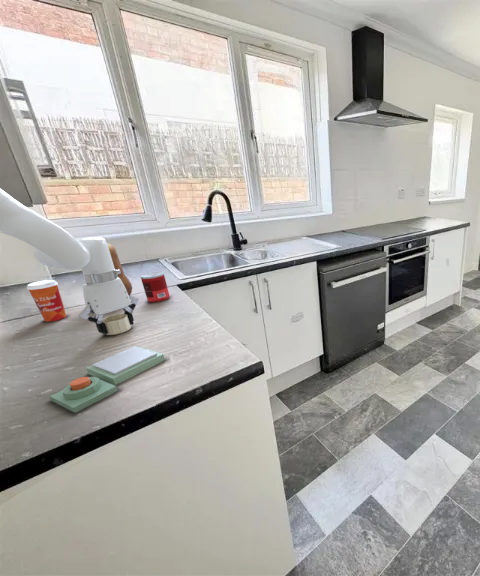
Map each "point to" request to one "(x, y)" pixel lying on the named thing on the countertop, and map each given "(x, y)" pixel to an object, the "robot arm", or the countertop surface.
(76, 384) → the button
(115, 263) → the butternut squash
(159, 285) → the canned food
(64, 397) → the pad
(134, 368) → the scale
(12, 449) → the countertop surface
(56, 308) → the paper cup
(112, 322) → the bowl
